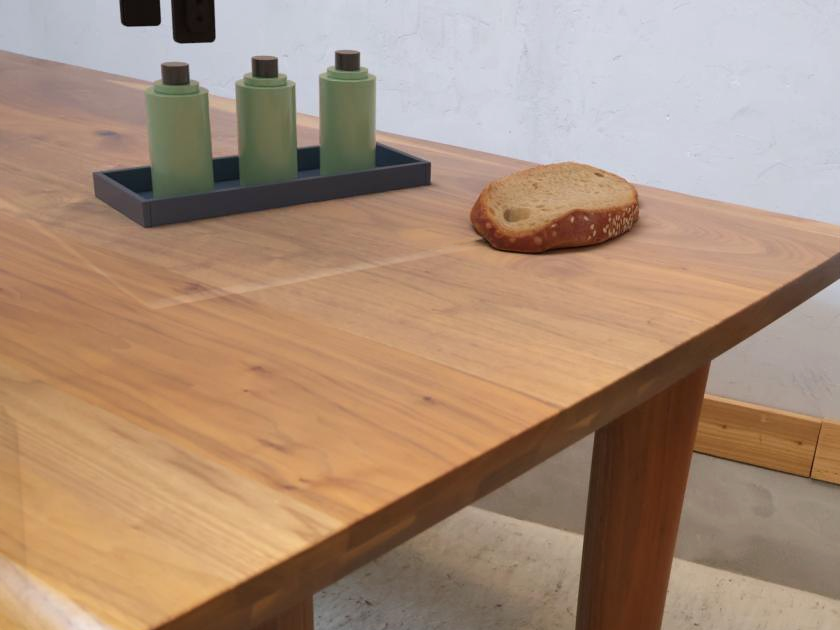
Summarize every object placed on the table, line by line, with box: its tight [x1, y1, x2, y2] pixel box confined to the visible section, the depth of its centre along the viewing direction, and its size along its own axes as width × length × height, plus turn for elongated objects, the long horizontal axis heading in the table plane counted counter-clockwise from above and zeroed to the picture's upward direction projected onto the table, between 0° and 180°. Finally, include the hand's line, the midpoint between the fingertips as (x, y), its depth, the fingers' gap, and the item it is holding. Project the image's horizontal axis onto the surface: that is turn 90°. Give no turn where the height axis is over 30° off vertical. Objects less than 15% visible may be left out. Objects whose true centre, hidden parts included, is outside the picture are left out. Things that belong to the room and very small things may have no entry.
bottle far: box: [318, 49, 377, 176], centre depth 101 cm, size 5×5×11 cm
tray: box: [92, 141, 432, 229], centre depth 99 cm, size 27×10×3 cm, turn 126°
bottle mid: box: [234, 55, 298, 187], centre depth 97 cm, size 5×5×11 cm
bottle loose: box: [143, 61, 214, 198], centre depth 93 cm, size 5×5×11 cm
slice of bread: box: [469, 161, 640, 254], centre depth 97 cm, size 18×18×4 cm
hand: (167, 33), depth 89 cm, fingers open, 9 cm apart
